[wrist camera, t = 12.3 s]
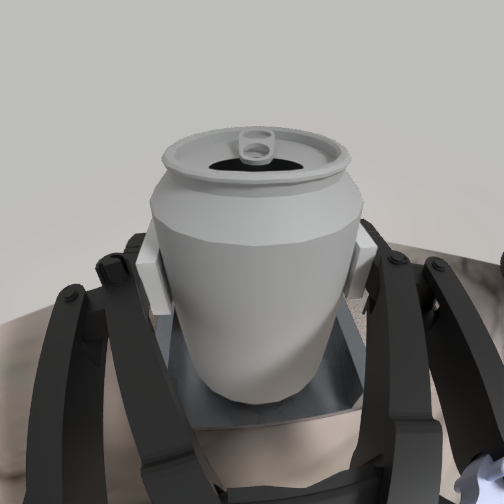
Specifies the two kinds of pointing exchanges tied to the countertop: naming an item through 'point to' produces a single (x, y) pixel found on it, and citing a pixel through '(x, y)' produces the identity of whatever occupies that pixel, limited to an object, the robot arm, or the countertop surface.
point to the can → (256, 253)
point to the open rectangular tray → (275, 413)
